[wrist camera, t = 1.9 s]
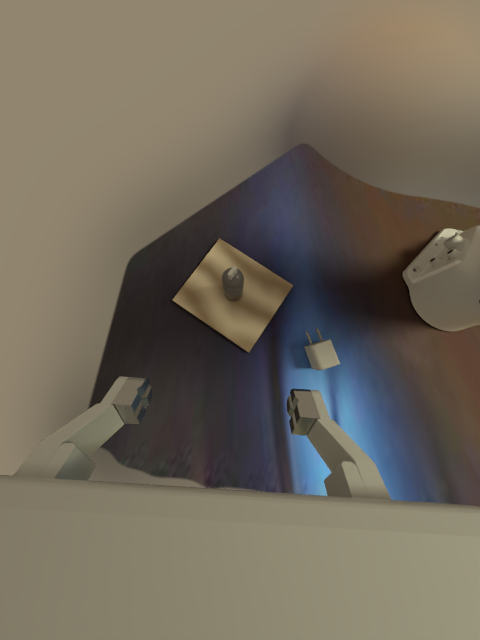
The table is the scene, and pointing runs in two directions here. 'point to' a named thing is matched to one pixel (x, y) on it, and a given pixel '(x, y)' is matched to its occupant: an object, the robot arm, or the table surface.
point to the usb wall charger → (321, 353)
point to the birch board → (233, 316)
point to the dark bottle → (233, 283)
